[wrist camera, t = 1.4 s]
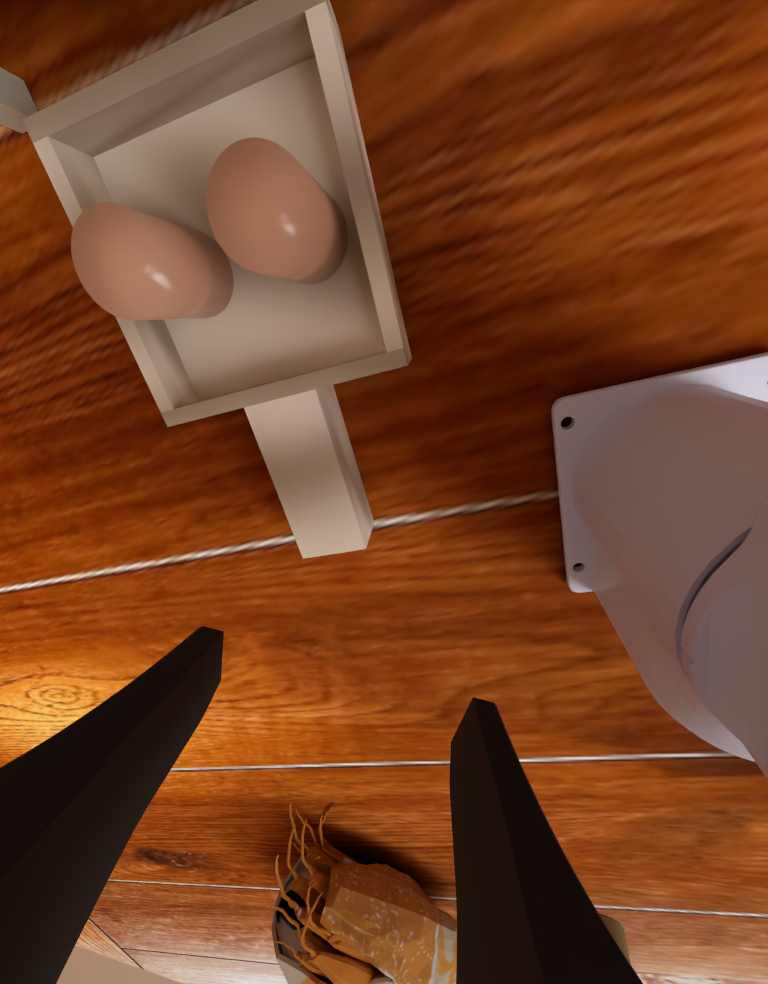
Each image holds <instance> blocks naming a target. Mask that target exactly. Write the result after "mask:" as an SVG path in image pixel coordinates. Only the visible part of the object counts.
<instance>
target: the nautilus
mask: <svg viewBox="0 0 768 984" xmlns="http://www.w3.org/2000/svg"><path fill="white" fill-rule="evenodd" d="M291 804H292V801H291V803H290V805H289V810H290V813H289V817H290V819H291V824H292V828H293V829H292V832H291V835H290V838H289V843H288V852H287V866H288V868H289V870H290V873H289V874H288V876H287V877H286V878H285V880H284V882H283V885H282V882H281V879H280V876H279V873H278V857H279V854H278V855H277V857H276V866H275V874H276V878H277V881H278V885H279V888H280V893H279V895H278V898H277V900H276V904H275V905H273V904H269V905H270V906H271V907H272V908H274V913H273V923H272V935H273V941H274V947H275V953H276V958H277V961H278V963H279V965H280V967H281V969H282V971H283V973H284V976H285V978H286V980H287V982H288V984H456V970H457V921H456V920H455V919H454V918H453V917H451V916H450V915H449V914H448V913H446V912H444V911H442V910H440V909H438V908H437V906H436V903H435V902H434V901H433V900H432V899H431V898H429V897H428V896H427V895H425V894H424V893H423V891H422V889H421V888H420V886H419V884H418V883H417V882H416V881H414V880H413V879H412V878H411V877H410V876H409V875H408V874H404V873H402V872H400V871H397V870H396V869H394V868H391V867H390V866H388V865H387V864H383V865H380V864H378V863H376V864H370V865H363V864H358V863H357V862H356V861H355V860H354V859H353V858H350V857H348V856H347V855H345V854H343V853H342V852H340V851H339V850H337V849H336V848H334V847H333V846H331V845H330V844H329V843H328V841H327V840H326V839H325V838H324V837H323V836H322V829H321V828H322V825H323V823H324V821H325V818H326V816H327V814H328V813H329V811H330V810H331V809H332V808H333V807H335V806H336V805H333V806H331V807H330V808H329V809H328V810H327V811H326V813H325V815H324V817H323V815H322V816H321V818H320V823H319V828H318V836H319V837H320V840H321V846H320V844H319V843H318V841H317V837H316V834H315V831H314V829H313V828H312V827H311V826H310V825H309V824H308V822H307V819H305V822H304V820H303V819H302V817H301V816H300V814H299V812H298V811H297V809H296V808H295V810H296V813H297V815H298V817H299V818H300V820H301V822H302V823H303V824H304V825H303V829H302V833H301V841H300V840H299V838H298V836H297V832H296V828H295V827H296V824H294V820H293V817H292V808H291ZM322 817H323V819H322ZM305 825H306V826H307V827H308V828H309V829H310V832H311V835H312V838H313V841H314V846H310V847H308V846H307V845H306V844H305V843H304V831H305ZM293 833H294V837H295V840H296V841H297V843H298V844H299V845H301V850H300V849H299V848H298V847H297V846H296V845H295V844H294V842H293V845H294V846H295V847H296V848H297V850H298V851H299V852H301V857H300V858H299V860H298V861H297V862H296V864H295V865H294V867H292V866H291V864H290V851H291V840H292V836H293ZM323 842H324V843H325V845H326V847H324V844H323ZM317 845H318V846H317ZM304 848H305V849H306V853H307V854H306V856H304Z"/></svg>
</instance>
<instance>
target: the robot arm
mask: <svg viewBox="0 0 768 984" xmlns="http://www.w3.org/2000/svg"><path fill="white" fill-rule="evenodd" d="M767 382H768V352H766V353H761V354H757V355H752V356H747V357H743V358H738V359H734V360H729V361H724V362H720V363H715V364H711V365H706V366H702V367H697V368H692V369H688V370H683V371H679V372H674V373H669V374H665V375H660V376H656V377H651V378H647V379H642V380H637V381H633V382H628V383H624V384H619V385H614V386H610V387H605V388H601V389H596V390H592V391H587V392H582V393H578V394H573V395H569V396H564V397H561V398H559V399H557V400H556V401H555V402H554V404H553V405H552V408H551V416H552V427H553V438H554V448H555V459H556V470H557V481H558V492H559V503H560V513H561V524H562V535H563V546H564V557H565V568H566V578H567V584H568V586H569V588H570V589H571V590H572V591H574V592H578V593H581V592H590V591H594V592H595V594H596V596H597V598H598V599H599V601H600V603H601V605H602V607H603V609H604V610H605V612H606V614H607V616H608V618H609V619H610V621H611V623H612V625H613V627H614V629H615V630H616V632H617V634H618V636H619V638H620V639H621V641H622V643H623V645H624V647H625V649H626V650H627V652H628V654H629V656H630V658H631V660H632V661H633V663H634V665H635V667H636V669H637V670H638V672H639V674H640V676H641V678H642V680H643V681H644V683H645V685H646V687H647V688H648V690H649V691H650V693H651V694H652V696H653V697H654V699H655V700H656V701H657V702H658V703H659V704H660V706H661V707H662V708H663V709H664V710H665V711H666V712H667V713H668V714H670V715H671V716H672V717H673V718H674V719H675V720H676V721H678V722H679V723H680V724H682V725H683V726H684V727H685V728H687V729H688V730H690V731H691V732H692V733H694V734H695V735H697V736H698V737H700V738H701V739H703V740H705V741H706V742H708V743H710V744H712V745H713V746H715V747H717V748H719V749H721V750H723V751H726V752H728V753H730V754H733V755H735V756H738V757H741V758H744V759H747V760H750V761H754V762H756V763H757V765H758V766H759V768H760V769H761V771H762V772H763V773H764V775H765V776H766V778H767V779H768V384H767ZM565 417H571V418H572V421H571V423H570V425H569V426H567V427H561V421H562V420H563V419H564V418H565ZM577 563H582V564H581V565H580V566H579V567H573V566H574V565H575V564H577ZM223 633H224V632H223V631H219V630H216V629H212V628H208V627H204V626H202V627H200V628H198V629H197V630H196V631H195V632H194V633H192V634H191V635H190V636H189V637H188V638H186V639H185V640H184V641H183V642H182V643H180V644H179V645H178V646H177V647H176V648H174V649H173V650H172V651H171V652H169V653H168V654H167V655H166V656H164V657H163V658H162V659H161V660H159V661H158V662H157V663H156V664H154V665H153V666H152V667H150V668H149V669H148V670H146V671H145V672H144V673H142V674H141V675H140V676H139V677H137V678H136V679H135V680H133V681H132V682H131V683H129V684H128V685H127V686H125V687H124V688H123V689H121V690H120V691H119V692H117V693H116V694H114V695H113V696H111V697H110V698H109V699H107V700H106V701H104V702H103V703H101V704H100V705H99V706H97V707H96V708H94V709H93V710H92V711H90V712H89V713H87V714H86V715H84V716H83V717H81V718H80V719H78V720H77V721H75V722H74V723H72V724H71V725H69V726H68V727H66V728H65V729H63V730H62V731H60V732H59V733H57V734H55V735H54V736H52V737H51V738H49V739H47V740H46V741H44V742H43V743H41V744H39V745H38V746H36V747H35V748H33V749H31V750H30V751H28V752H26V753H25V754H23V755H21V756H20V757H18V758H16V759H14V760H13V761H11V762H9V763H8V764H6V765H4V766H2V767H1V768H0V984H56V983H57V980H58V978H59V977H60V974H61V972H62V970H63V968H64V966H65V964H66V962H67V960H68V958H69V956H70V954H71V952H72V950H73V948H74V946H75V944H76V942H77V940H78V938H79V936H80V934H81V932H82V930H83V928H84V926H85V924H86V922H87V920H88V918H89V916H90V914H91V912H92V910H93V908H94V906H95V904H96V902H97V900H98V898H99V896H100V894H101V892H102V890H103V888H104V886H105V885H106V883H107V881H108V879H109V877H110V875H111V873H112V871H113V869H114V867H115V865H116V863H117V861H118V859H119V858H120V856H121V854H122V852H123V850H124V848H125V846H126V844H127V842H128V840H129V839H130V837H131V835H132V833H133V831H134V829H135V827H136V825H137V824H138V822H139V820H140V819H141V817H142V815H143V813H144V812H145V810H146V808H147V807H148V805H149V803H150V802H151V800H152V798H153V797H154V795H155V794H156V792H157V790H158V789H159V787H160V786H161V784H162V782H163V781H164V779H165V778H166V776H167V774H168V773H169V771H170V770H171V768H172V766H173V765H174V763H175V762H176V760H177V758H178V757H179V755H180V754H181V752H182V750H183V749H184V747H185V745H186V744H187V742H188V741H189V739H190V737H191V736H192V734H193V732H194V731H195V729H196V728H197V726H198V724H199V723H200V721H201V719H202V718H203V716H204V714H205V712H206V710H207V708H208V706H209V704H210V702H211V700H212V698H213V696H214V693H215V691H216V689H217V687H218V685H219V683H220V681H221V668H222V650H223ZM450 799H451V816H452V832H453V848H454V863H455V879H456V899H457V970H456V984H643V983H642V982H641V980H640V979H639V977H638V976H637V974H636V972H635V971H634V969H633V968H632V966H631V965H630V963H629V962H628V960H627V959H626V957H625V956H624V954H623V953H622V951H621V949H620V948H619V946H618V945H617V943H616V942H615V940H614V938H613V937H612V935H611V934H610V932H609V930H608V929H607V927H606V925H605V924H604V922H603V920H602V919H601V917H600V915H599V914H598V912H597V910H596V909H595V907H594V905H593V904H592V902H591V900H590V898H589V897H588V895H587V893H586V892H585V890H584V888H583V886H582V885H581V883H580V881H579V879H578V878H577V876H576V874H575V872H574V870H573V869H572V867H571V865H570V863H569V861H568V859H567V858H566V856H565V854H564V852H563V850H562V848H561V846H560V844H559V842H558V840H557V839H556V837H555V835H554V833H553V831H552V829H551V827H550V825H549V823H548V821H547V819H546V817H545V815H544V813H543V811H542V809H541V807H540V805H539V803H538V800H537V798H536V796H535V794H534V792H533V790H532V788H531V785H530V783H529V781H528V779H527V777H526V775H525V773H524V770H523V768H522V766H521V764H520V761H519V759H518V757H517V754H516V752H515V750H514V747H513V745H512V743H511V740H510V738H509V736H508V733H507V731H506V728H505V726H504V723H503V721H502V719H501V716H500V714H499V711H498V709H497V706H496V705H495V703H493V702H489V701H485V700H481V699H477V698H474V697H473V699H472V701H471V703H470V705H469V707H468V709H467V711H466V713H465V715H464V717H463V719H462V721H461V723H460V725H459V727H458V729H457V731H456V733H455V735H454V737H453V739H452V741H451V759H450Z"/></svg>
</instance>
